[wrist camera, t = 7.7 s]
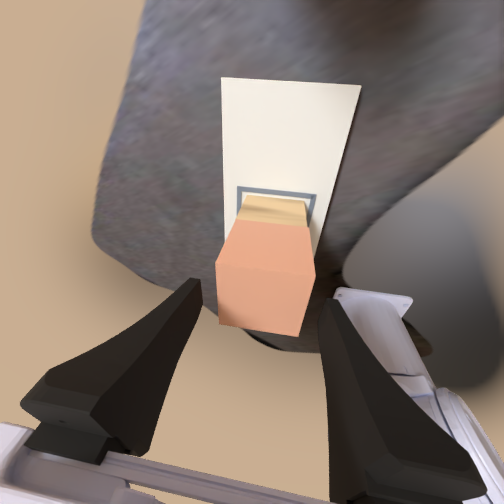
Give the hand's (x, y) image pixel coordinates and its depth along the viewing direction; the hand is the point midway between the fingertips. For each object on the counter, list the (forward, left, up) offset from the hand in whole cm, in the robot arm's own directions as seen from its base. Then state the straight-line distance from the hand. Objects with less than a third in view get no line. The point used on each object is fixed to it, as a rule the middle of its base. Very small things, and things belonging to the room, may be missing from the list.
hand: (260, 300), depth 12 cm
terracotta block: (0, 0, -5) cm, 5 cm away
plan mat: (+4, 0, -10) cm, 11 cm away
